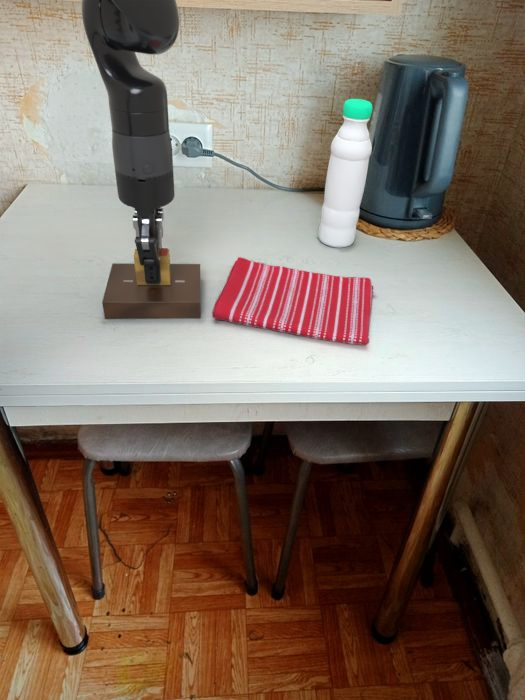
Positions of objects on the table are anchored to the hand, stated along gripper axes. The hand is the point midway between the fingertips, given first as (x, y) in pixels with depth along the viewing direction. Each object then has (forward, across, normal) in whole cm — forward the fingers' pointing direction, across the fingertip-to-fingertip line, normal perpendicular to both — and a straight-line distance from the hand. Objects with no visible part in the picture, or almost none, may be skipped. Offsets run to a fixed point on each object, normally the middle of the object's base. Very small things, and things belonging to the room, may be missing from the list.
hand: (153, 277), depth 77 cm
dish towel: (+4, +2, +22) cm, 22 cm away
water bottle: (+4, -20, +33) cm, 39 cm away
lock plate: (+4, 0, 0) cm, 4 cm away
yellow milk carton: (+1, 0, 0) cm, 1 cm away
